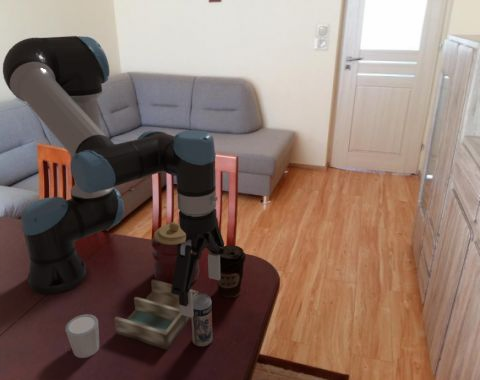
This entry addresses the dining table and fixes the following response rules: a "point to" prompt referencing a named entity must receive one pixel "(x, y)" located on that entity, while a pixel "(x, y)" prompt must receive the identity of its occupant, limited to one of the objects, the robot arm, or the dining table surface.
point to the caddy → (155, 317)
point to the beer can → (202, 320)
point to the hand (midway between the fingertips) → (201, 295)
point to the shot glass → (83, 335)
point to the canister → (168, 252)
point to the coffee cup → (231, 271)
